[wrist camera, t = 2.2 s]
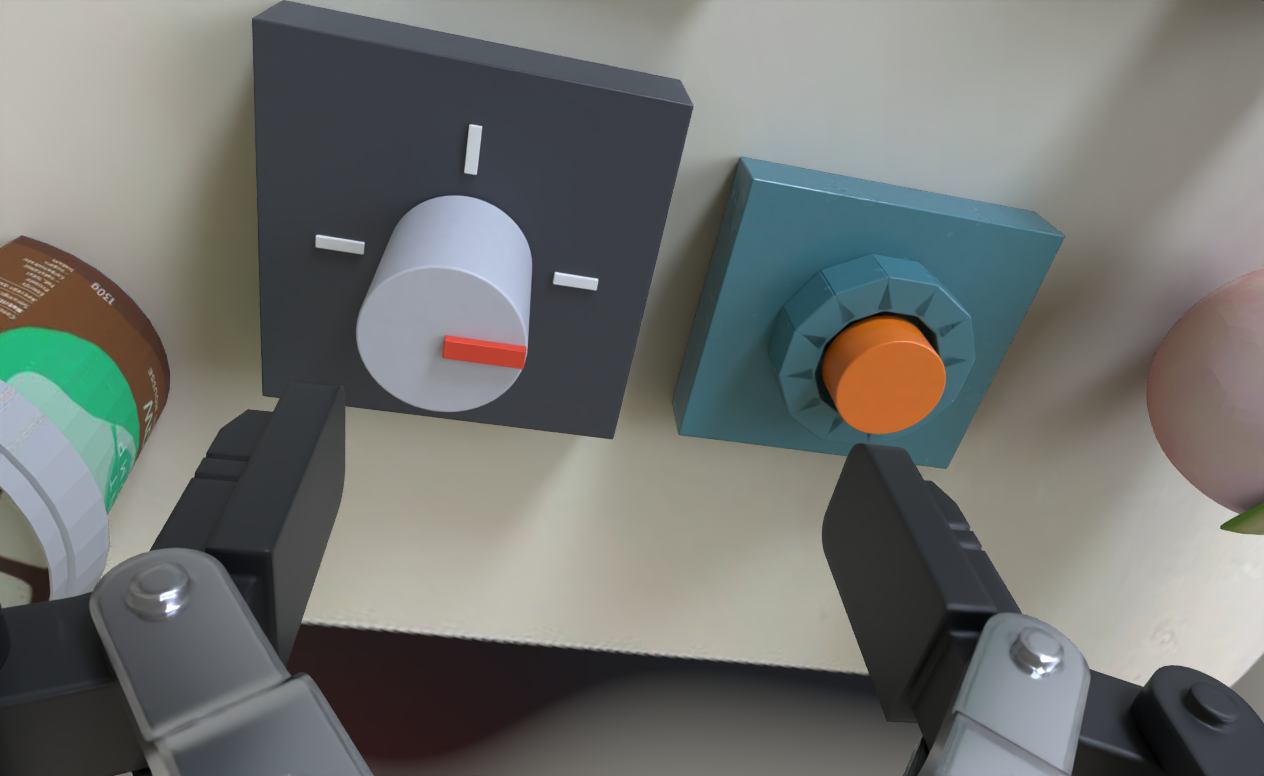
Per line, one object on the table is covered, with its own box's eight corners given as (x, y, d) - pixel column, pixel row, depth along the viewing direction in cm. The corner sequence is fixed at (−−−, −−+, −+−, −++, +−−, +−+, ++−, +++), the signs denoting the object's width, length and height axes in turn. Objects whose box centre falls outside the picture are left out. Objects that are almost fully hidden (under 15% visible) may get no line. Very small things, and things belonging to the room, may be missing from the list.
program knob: (384, 314, 27) (350, 408, 23) (391, 182, 25) (356, 258, 20) (521, 334, 28) (515, 428, 23) (542, 208, 25) (538, 286, 21)
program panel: (286, 351, 31) (260, 399, 28) (282, -1, 25) (249, 18, 22) (608, 394, 33) (613, 442, 30) (681, 79, 27) (695, 106, 24)
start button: (807, 398, 29) (820, 427, 28) (842, 307, 27) (858, 333, 26) (903, 411, 30) (920, 441, 28) (943, 323, 28) (964, 349, 27)
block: (671, 402, 33) (683, 465, 30) (739, 155, 28) (764, 198, 25) (926, 436, 35) (965, 499, 32) (1035, 211, 30) (1095, 258, 27)
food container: (185, 516, 35) (67, 732, 26) (18, 480, 33) (-165, 698, 25) (224, 253, 29) (88, 424, 20) (22, 194, 27) (-216, 353, 19)
